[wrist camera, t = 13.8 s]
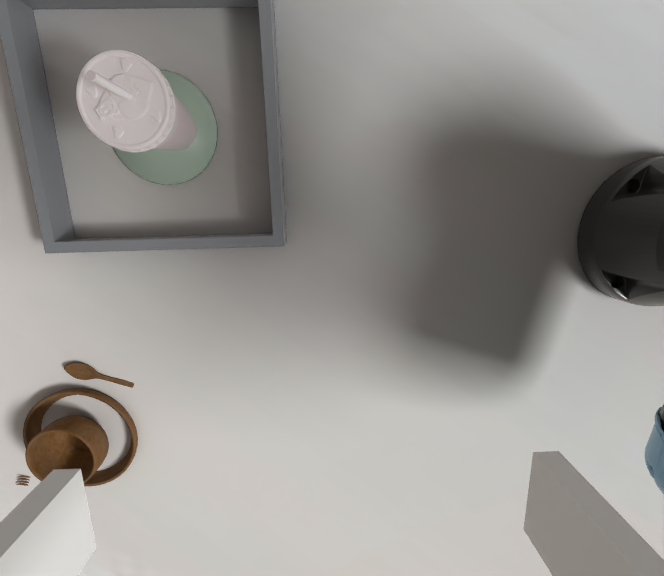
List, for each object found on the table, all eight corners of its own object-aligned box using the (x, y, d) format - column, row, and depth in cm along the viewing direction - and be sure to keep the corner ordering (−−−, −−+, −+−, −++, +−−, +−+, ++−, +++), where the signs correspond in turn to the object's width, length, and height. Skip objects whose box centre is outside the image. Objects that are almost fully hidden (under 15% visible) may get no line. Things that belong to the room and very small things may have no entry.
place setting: (122, 506, 44) (93, 552, 39) (-52, 460, 42) (-111, 501, 36) (160, 383, 41) (134, 412, 35) (-28, 324, 38) (-88, 346, 33)
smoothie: (224, 144, 35) (163, 106, 21) (166, 177, 35) (71, 161, 21) (186, 78, 33) (95, -9, 20) (127, 113, 34) (-2, 52, 20)
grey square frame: (273, -7, 32) (268, -27, 29) (286, 242, 37) (284, 246, 34) (18, -5, 32) (-13, -26, 29) (67, 249, 37) (45, 253, 34)
